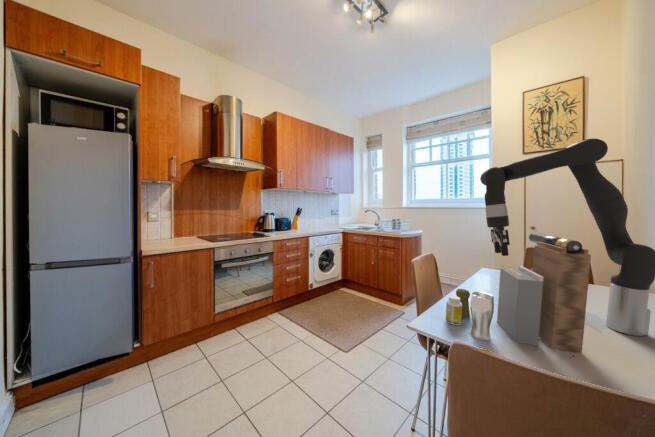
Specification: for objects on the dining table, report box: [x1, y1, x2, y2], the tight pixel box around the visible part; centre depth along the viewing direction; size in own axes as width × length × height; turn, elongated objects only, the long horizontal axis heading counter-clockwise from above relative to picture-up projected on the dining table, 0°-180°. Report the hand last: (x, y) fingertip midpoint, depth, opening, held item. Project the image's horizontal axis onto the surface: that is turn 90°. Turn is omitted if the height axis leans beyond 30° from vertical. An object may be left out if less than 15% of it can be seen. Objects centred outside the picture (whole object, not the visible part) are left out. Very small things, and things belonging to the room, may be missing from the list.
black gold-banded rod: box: [528, 232, 583, 254], centre depth 86 cm, size 23×4×4 cm, turn 165°
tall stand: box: [532, 242, 592, 354], centre depth 84 cm, size 8×14×34 cm, turn 165°
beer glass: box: [470, 291, 495, 341], centre depth 86 cm, size 7×7×15 cm
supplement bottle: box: [445, 295, 463, 326], centre depth 96 cm, size 6×6×10 cm
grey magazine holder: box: [496, 264, 543, 346], centre depth 88 cm, size 7×14×24 cm, turn 165°
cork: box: [455, 288, 471, 319], centre depth 102 cm, size 6×6×11 cm
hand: (501, 254), depth 101 cm, fingers open, 8 cm apart
